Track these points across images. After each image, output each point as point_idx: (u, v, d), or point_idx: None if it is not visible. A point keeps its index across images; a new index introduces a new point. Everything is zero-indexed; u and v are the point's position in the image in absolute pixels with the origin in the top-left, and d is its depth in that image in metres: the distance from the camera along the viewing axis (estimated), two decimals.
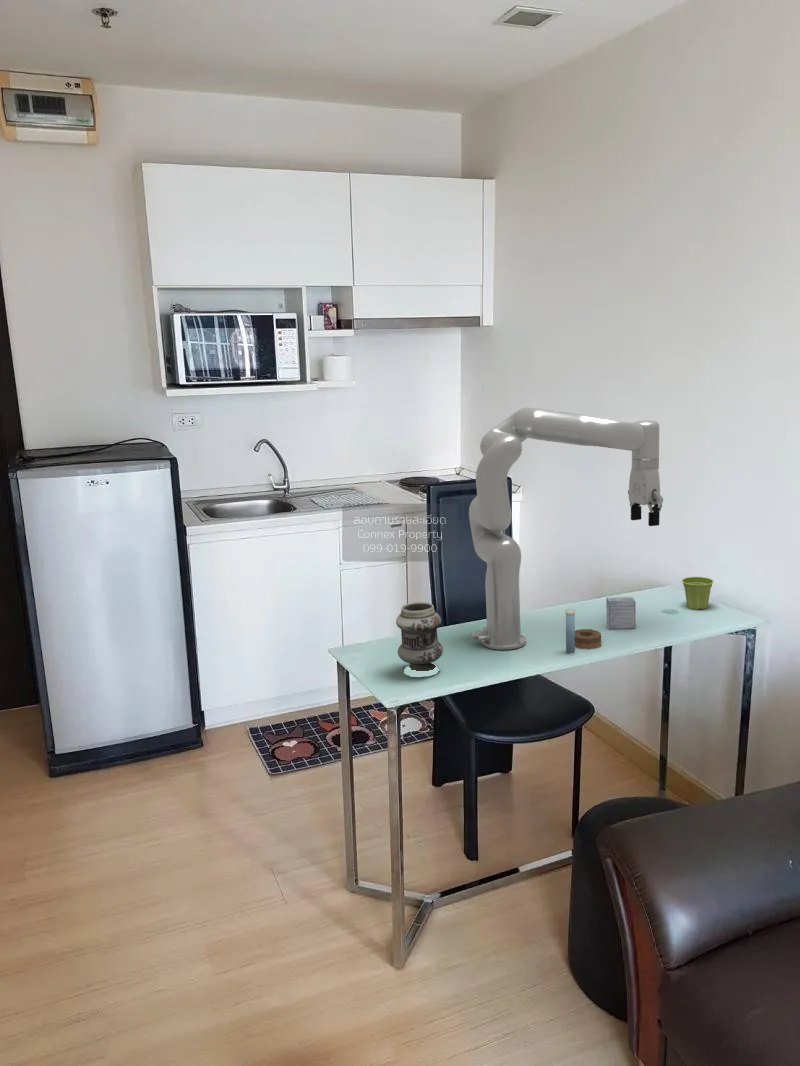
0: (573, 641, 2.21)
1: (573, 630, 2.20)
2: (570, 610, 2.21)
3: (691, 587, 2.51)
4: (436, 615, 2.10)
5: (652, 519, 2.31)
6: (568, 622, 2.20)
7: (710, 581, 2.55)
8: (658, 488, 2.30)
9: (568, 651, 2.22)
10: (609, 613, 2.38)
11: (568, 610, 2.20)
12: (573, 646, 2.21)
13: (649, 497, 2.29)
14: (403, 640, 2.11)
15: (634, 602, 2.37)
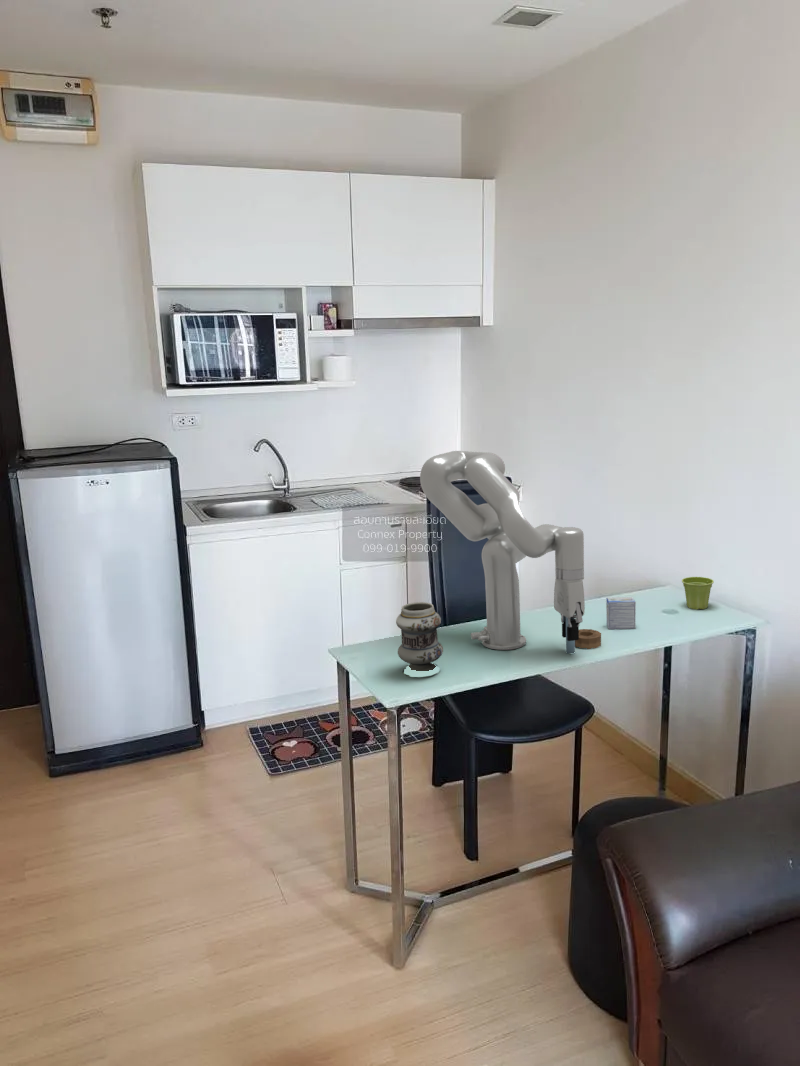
0: (573, 641, 2.21)
1: None
2: None
3: (691, 587, 2.51)
4: (436, 615, 2.10)
5: (570, 633, 2.19)
6: None
7: (710, 581, 2.55)
8: (582, 600, 2.15)
9: (568, 651, 2.22)
10: (609, 613, 2.38)
11: None
12: (573, 646, 2.21)
13: (572, 610, 2.15)
14: (403, 640, 2.11)
15: (634, 602, 2.37)
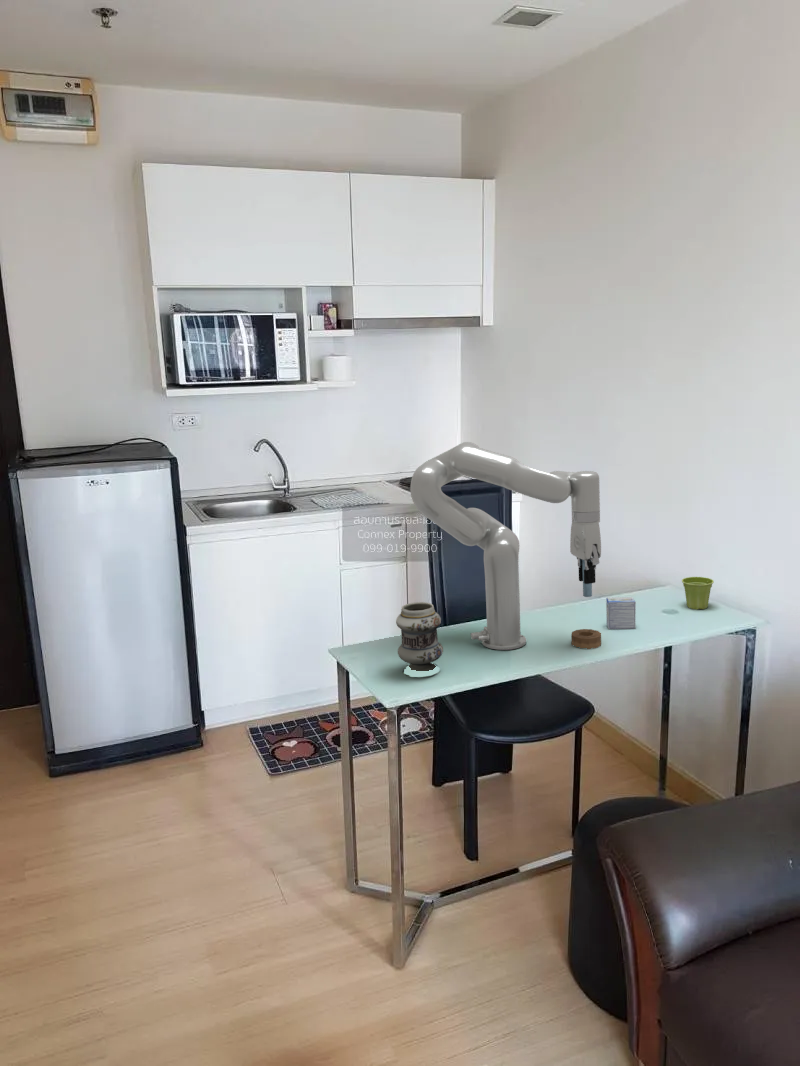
0: (590, 584, 2.24)
1: None
2: None
3: (691, 587, 2.51)
4: (436, 615, 2.10)
5: (587, 576, 2.22)
6: None
7: (710, 581, 2.55)
8: (598, 542, 2.18)
9: (585, 594, 2.25)
10: (609, 613, 2.38)
11: None
12: (590, 589, 2.24)
13: (589, 552, 2.18)
14: (403, 640, 2.11)
15: (634, 602, 2.37)
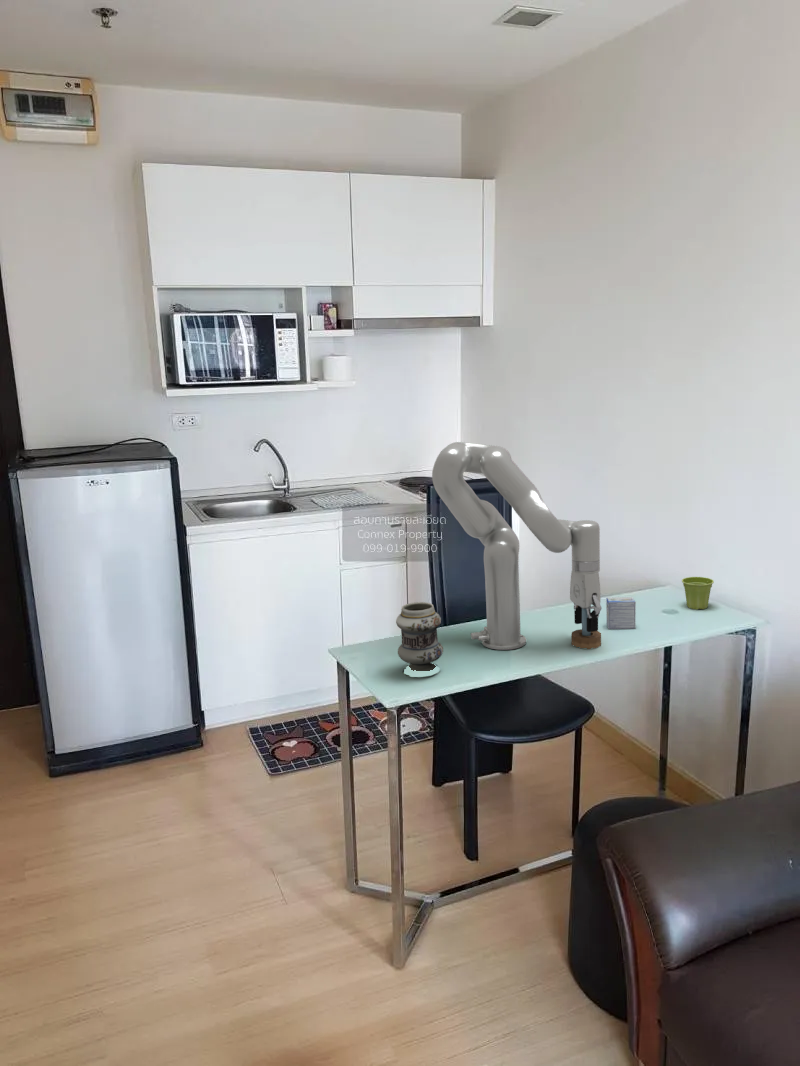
0: (589, 633, 2.27)
1: None
2: None
3: (691, 587, 2.51)
4: (436, 615, 2.10)
5: (590, 624, 2.23)
6: (584, 614, 2.26)
7: (710, 581, 2.55)
8: (598, 592, 2.21)
9: None
10: (609, 613, 2.38)
11: None
12: None
13: (589, 601, 2.20)
14: (403, 640, 2.11)
15: (634, 602, 2.37)
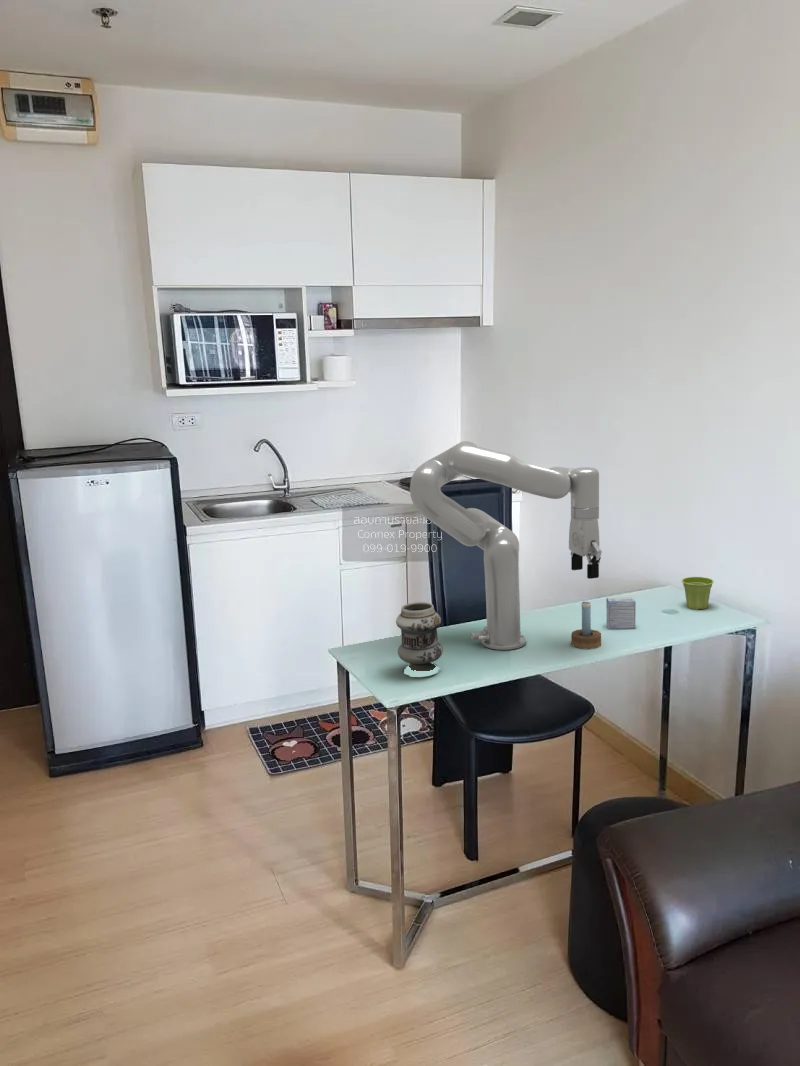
0: (589, 633, 2.27)
1: (589, 622, 2.26)
2: (586, 602, 2.26)
3: (691, 587, 2.51)
4: (436, 615, 2.10)
5: (591, 571, 2.19)
6: (584, 614, 2.26)
7: (710, 581, 2.55)
8: (597, 539, 2.18)
9: None
10: (609, 613, 2.38)
11: (584, 602, 2.26)
12: None
13: (587, 548, 2.18)
14: (403, 640, 2.11)
15: (634, 602, 2.37)
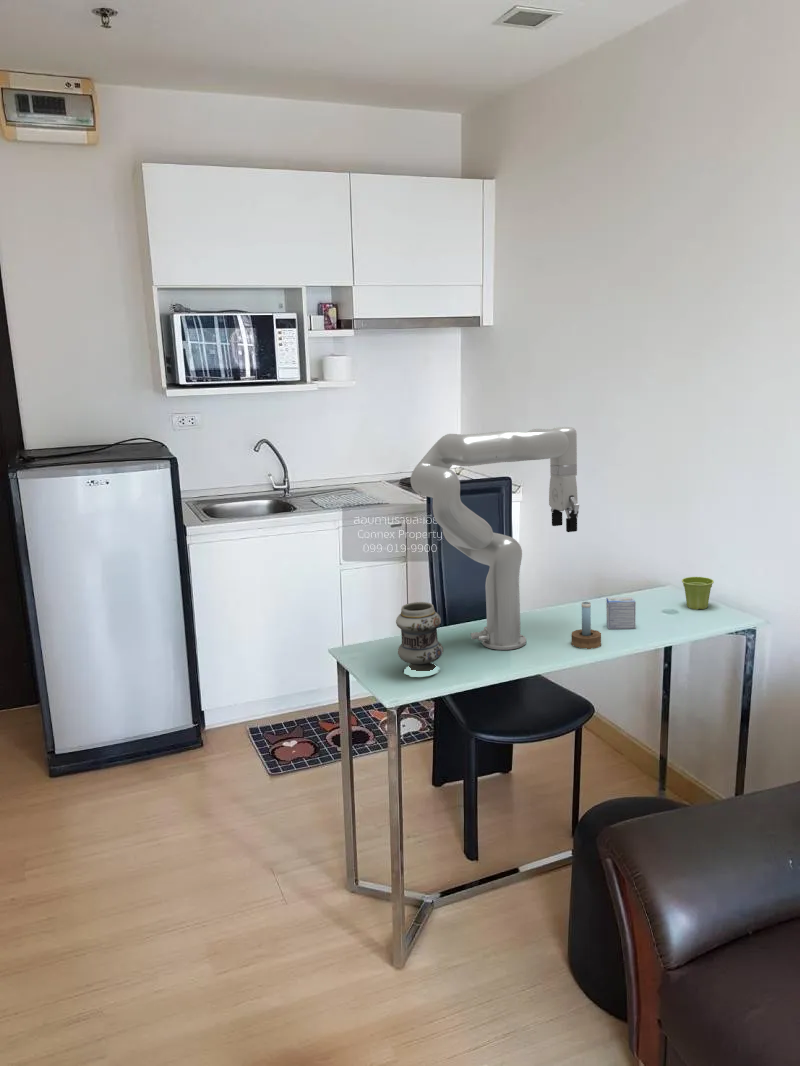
0: (589, 633, 2.27)
1: (589, 622, 2.26)
2: (586, 602, 2.26)
3: (691, 587, 2.51)
4: (436, 615, 2.10)
5: (569, 525, 2.32)
6: (584, 614, 2.26)
7: (710, 581, 2.55)
8: (575, 494, 2.31)
9: None
10: (609, 613, 2.38)
11: (584, 602, 2.26)
12: None
13: (566, 503, 2.30)
14: (403, 640, 2.11)
15: (634, 602, 2.37)
